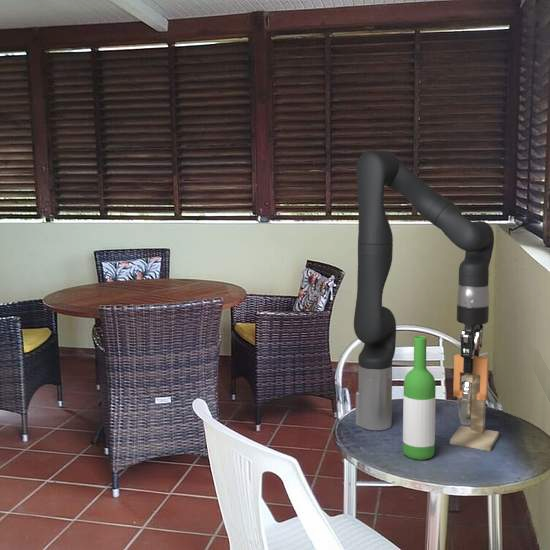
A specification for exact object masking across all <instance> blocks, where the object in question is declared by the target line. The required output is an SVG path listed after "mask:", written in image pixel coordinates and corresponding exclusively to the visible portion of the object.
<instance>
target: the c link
mask: <svg viewBox="0 0 550 550" xmlns="http://www.w3.org/2000/svg"><path fill="white" fill-rule="evenodd" d="M453 358H454V359H453V386H452V387H453V391H452V393H453V395H452V396H453V397H455V398H457V397H461V398H462V397H463V396H464V390H463V389H461V383H462V376H463V374H462V373H464V372H463V364H464V358H463V357H461V353H455V355H454V356H453ZM489 364H490V358H489V357H488V356H487V357H486V356H481V357H479V356H474V358H473V373H472V374H479V375H480V392H478V393H477V400H482V401H486V402H487V400H488V397H489V396H488V394H489V393H488V392H489V369H490V368H489V366H490V365H489ZM464 374H465V373H464Z"/></svg>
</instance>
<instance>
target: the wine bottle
mask: <svg viewBox="0 0 550 550" xmlns="http://www.w3.org/2000/svg"><path fill="white" fill-rule="evenodd" d="M436 386H437V384H436V379H435V377H434V375H433V374H432V373H431V372H430V371H429V370H428V369H427V337H426V336H424V335H416V336H414V337H413V368H412V369H411V370H409V371H408V372H407V373H406V375H405V376H404V380H403V396H402V397H403V398H402V400H403V402H402V403H403V406H402V408H403V409H402V415H403V416H402V452H403V453H404V455H405V456H406V457H408V458H409V459H412V460H416V461H421V460H422V461H423V460H425V461H426V460H428V459H431V458H433V456H434V454H435V445H436V444H435V443H436V398H437V397H436V395H437V394H436V391H437V390H436V389H437V388H436Z"/></svg>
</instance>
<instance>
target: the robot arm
mask: <svg viewBox="0 0 550 550" xmlns="http://www.w3.org/2000/svg"><path fill="white" fill-rule="evenodd" d="M355 170H356V173H355V174H356V175H355V176H356V177H355V178H356V186H357V187H356V188H357V200H358V234H357V235H358V236H357V276H356V277H357V283H356V284H357V285H356V286H357V288H356V299H355V300H356V301H355V307H354V316H353V329H354V333H355V336H356V338H357V339H358V340H359V341H360V342H362V343H363V345H364V346H363V347H362V349H361V351H360V352H359V354H358V364H357V365H358V366H357V367H358V377H357V378H358V379H357V381H358V382H357V383H358V384H357V385H358V386H357V387H358V390H357V391H356V392H355V426H359V427H360V428H362V429H365V430H369V431H384V430H388V429H390V428H391V427H392V424H393V423H392V420H393V416H392V415H393V414H392V413H393V412H392V410H393V359H394V357H395V353H396V343H397V342H396V339H397V322H396V318H395V315H394V313H393V312H392V311H391V309H390V308H388V307H386V306H384V305H383V293H384V288H385V285H386V282H387V279H388V276H389V273H390V270H391V268H392V262H393V252H394V250H393V248H394V245H393V243H394V239H393V238H394V235H393V232H392V229H391V224H390V221H389V219H388V217H387V213H386V210H385V206H384V205H385V204H384V202H385V201H384V199H385V198H384V197H385V196H384V195H385V192H384V189H385V187H387V188H389V189H392V190H393V191H395V192H398V193H399V194H401V196H403V197H404V198H405V199H406V200H407V201H408V202H409V203H410V204H411V206H412V207H413V209H415V210H416V212H417V213H418V214H419V215H420V216H421V217H422V218H424V219H425V220H426V221H428V222H429V223H431V225H433V226H435V227H436V228H438V229H439V230H441V231H442V233H443V234H444V235H445V236H446V237H447V239H449V240H450V241H451V243H452V244H454V245H455V246H456V247H458V249H461V250H463V251H465V253H464V259H463V260H462V261H461V263H460V264H459V266H458V267H459V268H458V287H457V292H456V321H457V322H458V323H460V324H463V325H464V329H462V332H461V334H460V354H461V357H463V358H464V364H463V372H464V374H466V373H468V374H472V373H473V358H474V356H479V354H480V352H481V348H482V346H483V331H484V325H486V324H487V323H488V322H489V318H490V317H489V315H490V314H489V313H490V312H489V311H490V310H489V309H490V290H489V273H490V271H489V268H490V264H491V263H490V262H491V260H492V255H493V250H494V244H495V235H494V230H493V228H492V226H491V225H490V224H489V223H488V222H486V221H481V220H477V221H471V220H470V219H468V217H465V215H463V214H462V213H463V212H462V209H461V208H460V207H459V206H457V205H456V204H455V203H454V202H452V201H451V200H449V199H448V198H447V197H445V196H443V195H442V194H441V193H439V192H438V191H437V190H435V189H433V187H430V185H428V184H427V183H425V182H424V181H423V180H422V179H421V178H419V177H418V176H417V175H416V174H415V173H414V172H413V171H412V170H410V168H409V167H408V166H406V164H405V163H404V162H402V160H400V158H398V157H397V156H396V155H395V154H394V153H393V152H391V151H388V150H378V149H375V150H372V149H371V150H366V151H364V152H363V153H362V154H361V155H360V156H359V158H358V160H357V163H356V168H355ZM467 350H468V352H467ZM463 372H462V373H463Z"/></svg>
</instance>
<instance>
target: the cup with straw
mask: <svg viewBox="0 0 550 550" xmlns="http://www.w3.org/2000/svg"><path fill="white" fill-rule="evenodd" d="M488 355H489V353H488V352H487V351H486V352H482V353H479V357H485V356H488ZM461 389H463V390H464V396H463V397H462V398H461V397H456V399H457V406H458V416H459V417H458V418H459V423H460V424H461V426H466V425H467V427H471V402H472V383H470V382H466V374H464V375H462V383H461Z"/></svg>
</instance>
